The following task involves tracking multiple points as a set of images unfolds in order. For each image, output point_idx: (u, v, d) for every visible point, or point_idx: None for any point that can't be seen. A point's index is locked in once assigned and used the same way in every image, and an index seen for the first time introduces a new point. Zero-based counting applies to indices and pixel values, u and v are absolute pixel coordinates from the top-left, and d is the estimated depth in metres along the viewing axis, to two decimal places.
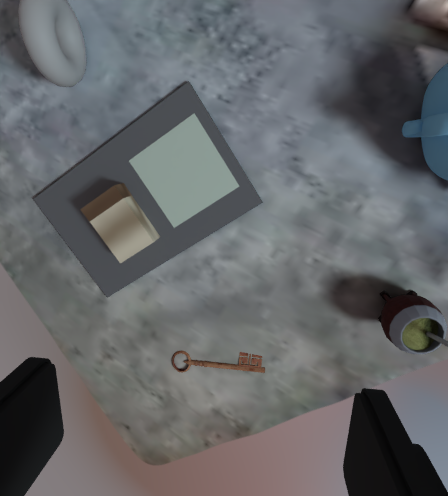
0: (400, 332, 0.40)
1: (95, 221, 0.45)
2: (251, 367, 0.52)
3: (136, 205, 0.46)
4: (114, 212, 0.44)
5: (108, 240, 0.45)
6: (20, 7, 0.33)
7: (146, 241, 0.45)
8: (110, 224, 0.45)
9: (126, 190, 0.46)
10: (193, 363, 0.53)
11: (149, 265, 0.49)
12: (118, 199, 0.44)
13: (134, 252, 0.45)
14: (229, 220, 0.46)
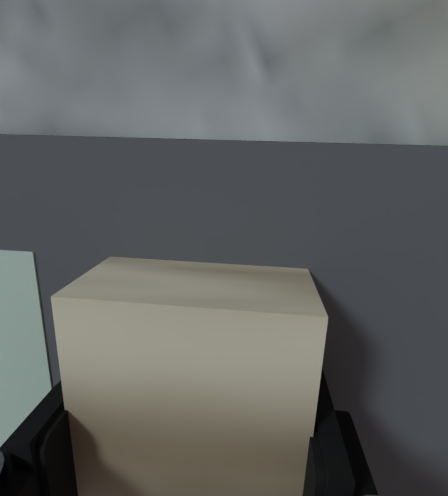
0: None
1: None
2: None
3: None
4: None
5: (283, 451, 0.08)
6: None
7: (86, 324, 0.07)
8: (212, 494, 0.08)
9: None
10: None
11: (243, 170, 0.09)
12: None
13: (195, 317, 0.07)
14: None
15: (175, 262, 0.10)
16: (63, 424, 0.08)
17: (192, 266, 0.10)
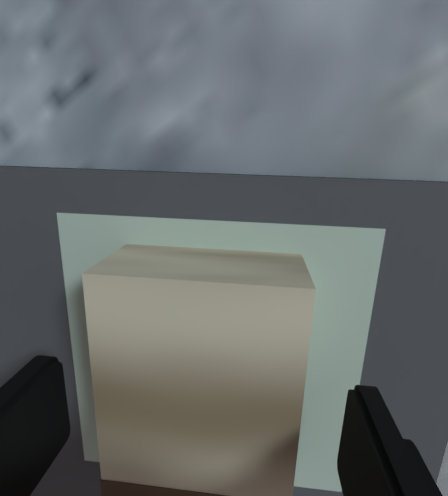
0: None
1: (268, 490, 0.10)
2: None
3: None
4: (167, 467, 0.10)
5: (279, 406, 0.09)
6: None
7: (111, 297, 0.09)
8: (217, 446, 0.10)
9: None
10: None
11: None
12: (120, 486, 0.11)
13: (204, 290, 0.08)
14: None
15: (184, 248, 0.11)
16: None
17: (199, 251, 0.11)
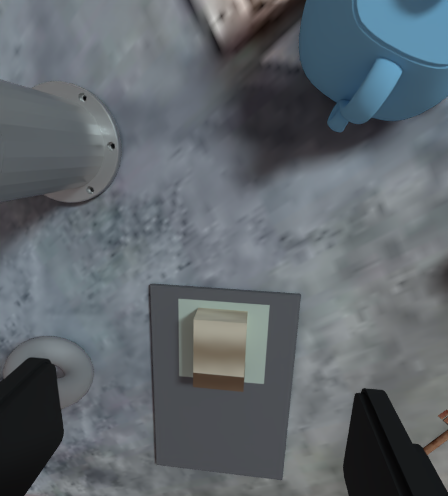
0: None
1: (237, 373, 0.38)
2: None
3: None
4: (211, 368, 0.39)
5: (239, 350, 0.38)
6: None
7: (200, 324, 0.37)
8: (224, 361, 0.38)
9: None
10: None
11: (281, 427, 0.44)
12: (198, 374, 0.39)
13: (222, 323, 0.37)
14: (294, 334, 0.40)
15: (215, 309, 0.40)
16: None
17: (219, 310, 0.39)
